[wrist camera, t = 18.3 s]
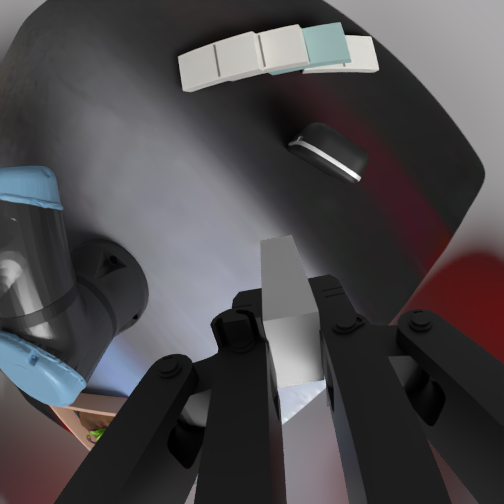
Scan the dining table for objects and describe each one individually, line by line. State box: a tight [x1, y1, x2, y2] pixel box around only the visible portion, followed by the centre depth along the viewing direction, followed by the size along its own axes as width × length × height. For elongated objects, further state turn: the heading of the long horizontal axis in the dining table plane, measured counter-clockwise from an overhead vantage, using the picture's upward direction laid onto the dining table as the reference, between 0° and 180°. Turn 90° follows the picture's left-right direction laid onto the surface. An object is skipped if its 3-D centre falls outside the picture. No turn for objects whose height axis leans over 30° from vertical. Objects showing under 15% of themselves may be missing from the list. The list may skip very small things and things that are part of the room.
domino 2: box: [229, 24, 310, 81], centre depth 27 cm, size 2×5×10 cm
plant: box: [79, 411, 115, 444], centre depth 52 cm, size 20×20×11 cm
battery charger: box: [287, 123, 369, 186], centre depth 29 cm, size 7×4×11 cm, turn 62°
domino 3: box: [268, 22, 352, 75], centre depth 27 cm, size 2×5×10 cm
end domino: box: [302, 35, 379, 73], centre depth 28 cm, size 2×5×10 cm
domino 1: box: [178, 31, 265, 92], centre depth 28 cm, size 2×5×10 cm
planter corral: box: [49, 393, 128, 451], centre depth 54 cm, size 25×25×5 cm
